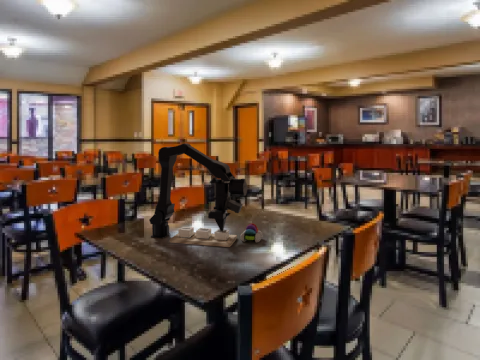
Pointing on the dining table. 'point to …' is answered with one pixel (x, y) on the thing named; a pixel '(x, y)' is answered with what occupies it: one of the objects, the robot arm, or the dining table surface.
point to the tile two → (203, 233)
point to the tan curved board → (204, 240)
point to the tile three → (221, 234)
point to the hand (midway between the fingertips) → (221, 230)
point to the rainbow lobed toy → (251, 233)
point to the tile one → (186, 231)
